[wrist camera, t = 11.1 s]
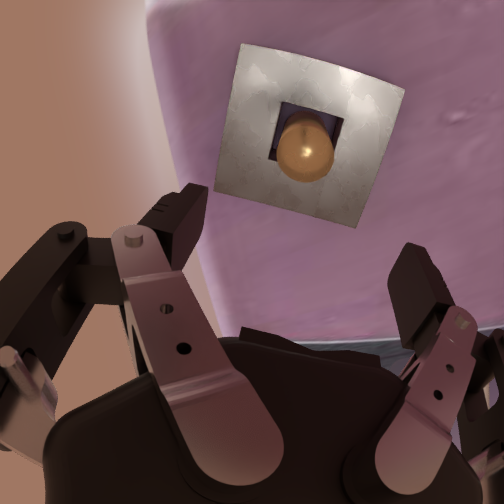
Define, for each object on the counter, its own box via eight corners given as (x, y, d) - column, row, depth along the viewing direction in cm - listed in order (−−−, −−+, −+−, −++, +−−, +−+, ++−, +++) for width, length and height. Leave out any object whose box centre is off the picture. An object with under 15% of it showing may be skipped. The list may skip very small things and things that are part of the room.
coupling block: (248, 46, 24) (241, 43, 21) (394, 86, 24) (405, 89, 21) (222, 178, 32) (213, 191, 29) (351, 212, 32) (355, 228, 29)
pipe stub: (289, 106, 27) (284, 121, 20) (330, 117, 27) (341, 137, 20) (279, 144, 29) (270, 174, 22) (319, 155, 29) (324, 189, 22)
